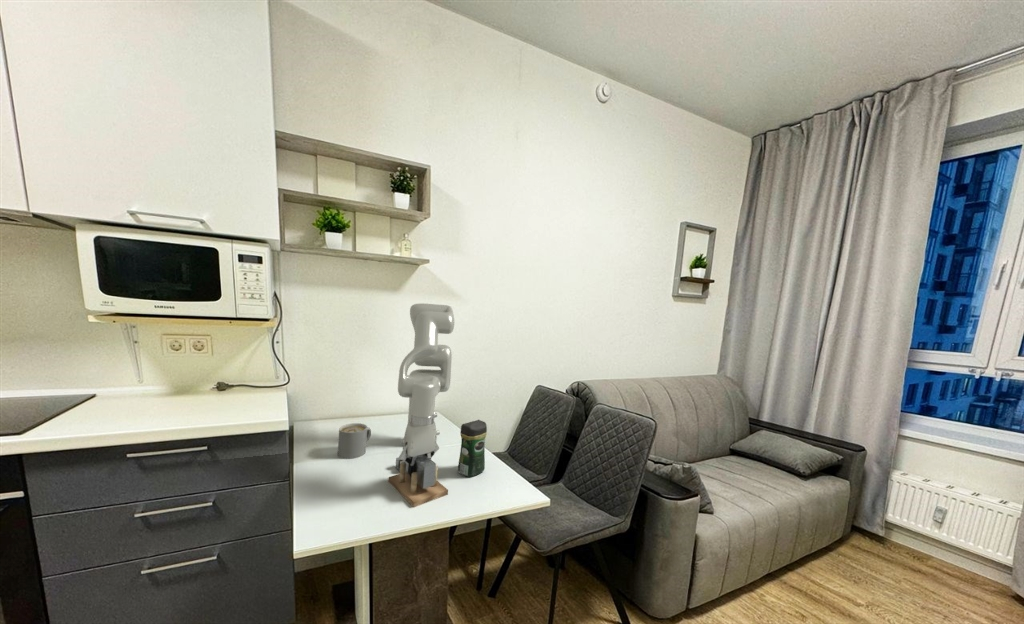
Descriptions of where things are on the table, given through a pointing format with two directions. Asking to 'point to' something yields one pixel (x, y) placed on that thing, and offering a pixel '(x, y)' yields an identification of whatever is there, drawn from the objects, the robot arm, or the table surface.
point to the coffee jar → (472, 448)
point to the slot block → (398, 463)
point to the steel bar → (424, 471)
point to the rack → (416, 487)
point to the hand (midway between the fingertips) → (418, 473)
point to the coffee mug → (353, 440)
